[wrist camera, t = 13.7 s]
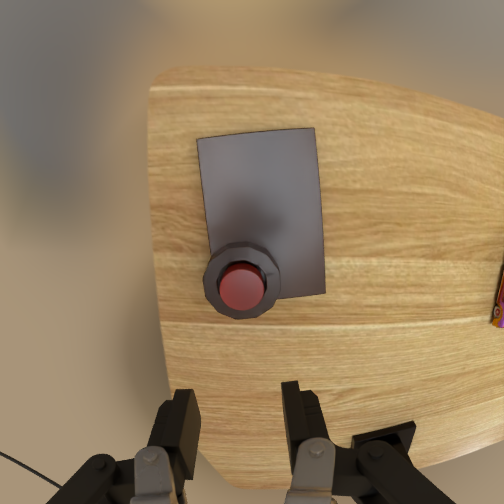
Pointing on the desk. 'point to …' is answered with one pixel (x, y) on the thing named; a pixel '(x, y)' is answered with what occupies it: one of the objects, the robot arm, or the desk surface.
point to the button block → (263, 213)
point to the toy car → (499, 308)
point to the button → (241, 286)
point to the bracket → (390, 438)
